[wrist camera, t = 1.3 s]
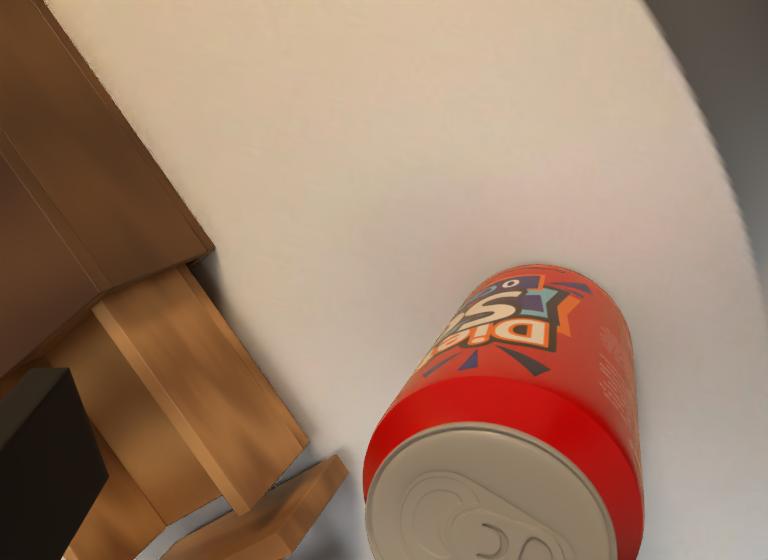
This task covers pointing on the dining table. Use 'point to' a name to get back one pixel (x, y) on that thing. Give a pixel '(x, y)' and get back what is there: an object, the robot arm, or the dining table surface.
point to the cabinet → (72, 190)
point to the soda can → (514, 432)
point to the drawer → (182, 429)
